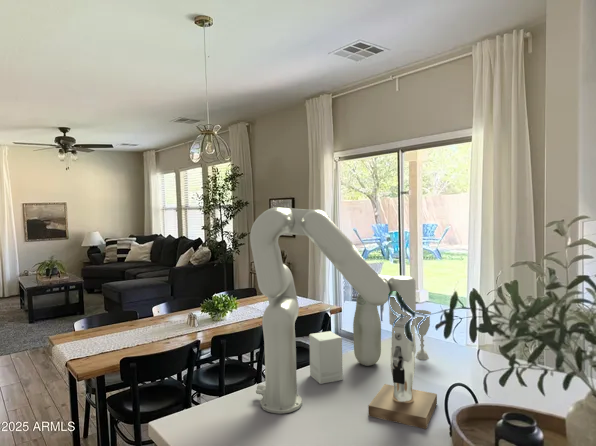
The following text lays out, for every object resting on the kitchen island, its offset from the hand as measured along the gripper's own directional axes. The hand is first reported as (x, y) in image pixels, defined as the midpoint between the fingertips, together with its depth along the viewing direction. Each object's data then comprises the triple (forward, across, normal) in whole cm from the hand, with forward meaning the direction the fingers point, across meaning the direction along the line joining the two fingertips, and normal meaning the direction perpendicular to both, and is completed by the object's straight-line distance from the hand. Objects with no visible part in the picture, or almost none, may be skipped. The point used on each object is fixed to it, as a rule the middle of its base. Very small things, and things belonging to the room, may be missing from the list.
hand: (403, 376), depth 120 cm
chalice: (+10, +45, +4) cm, 46 cm away
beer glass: (+7, 0, 0) cm, 7 cm away
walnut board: (+10, 0, 0) cm, 10 cm away
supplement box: (+10, +11, +30) cm, 34 cm away
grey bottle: (+10, +29, +21) cm, 37 cm away
